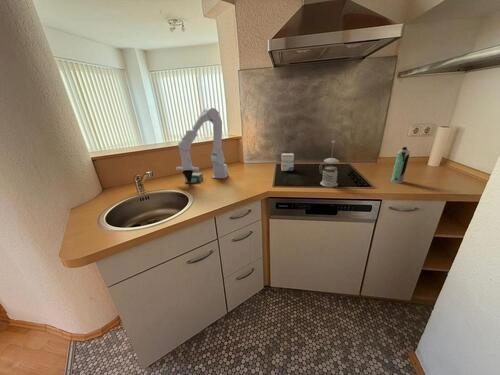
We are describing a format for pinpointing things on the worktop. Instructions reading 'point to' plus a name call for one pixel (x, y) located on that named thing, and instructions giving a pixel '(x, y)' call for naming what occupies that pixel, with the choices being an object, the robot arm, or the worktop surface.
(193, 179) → the tray shell
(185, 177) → the low shelf
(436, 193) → the worktop surface
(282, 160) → the ink box
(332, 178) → the french press
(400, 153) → the spray can
